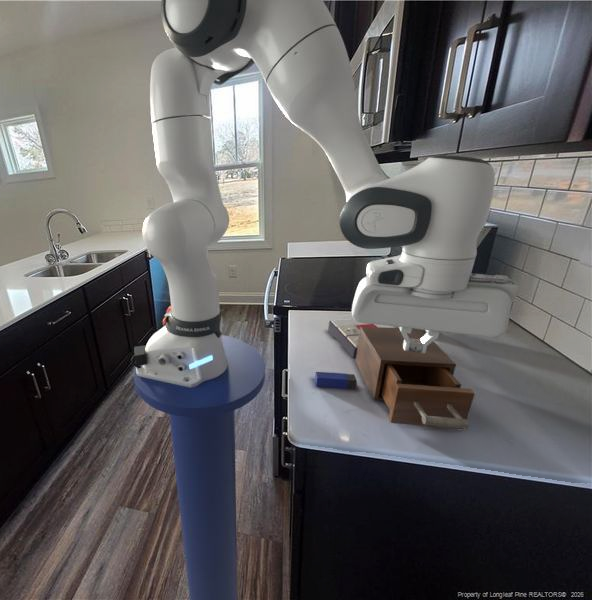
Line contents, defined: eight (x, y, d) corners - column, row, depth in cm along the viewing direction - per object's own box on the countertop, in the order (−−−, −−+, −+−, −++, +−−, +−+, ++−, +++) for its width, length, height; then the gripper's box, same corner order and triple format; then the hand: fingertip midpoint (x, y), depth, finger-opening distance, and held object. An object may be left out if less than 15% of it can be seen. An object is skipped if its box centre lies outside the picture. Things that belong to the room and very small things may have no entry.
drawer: (480, 452, 51) (494, 413, 48) (401, 443, 53) (410, 406, 50) (427, 383, 67) (435, 351, 64) (368, 379, 70) (373, 348, 67)
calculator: (355, 346, 77) (328, 318, 91) (352, 361, 79) (327, 331, 93) (399, 343, 78) (366, 315, 91) (396, 357, 79) (364, 328, 93)
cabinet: (444, 406, 62) (456, 364, 58) (373, 400, 65) (381, 360, 61) (412, 364, 75) (421, 328, 72) (355, 361, 78) (360, 326, 74)
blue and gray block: (316, 386, 70) (317, 377, 69) (314, 380, 72) (315, 371, 71) (355, 389, 68) (357, 380, 67) (352, 383, 70) (354, 373, 69)
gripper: (512, 270, 47) (484, 351, 52) (357, 262, 54) (346, 333, 60) (534, 283, 41) (501, 372, 46) (359, 272, 49) (347, 349, 54)
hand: (413, 350), depth 53 cm, fingers closed
